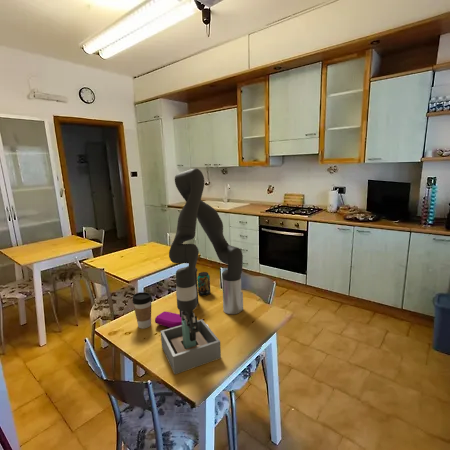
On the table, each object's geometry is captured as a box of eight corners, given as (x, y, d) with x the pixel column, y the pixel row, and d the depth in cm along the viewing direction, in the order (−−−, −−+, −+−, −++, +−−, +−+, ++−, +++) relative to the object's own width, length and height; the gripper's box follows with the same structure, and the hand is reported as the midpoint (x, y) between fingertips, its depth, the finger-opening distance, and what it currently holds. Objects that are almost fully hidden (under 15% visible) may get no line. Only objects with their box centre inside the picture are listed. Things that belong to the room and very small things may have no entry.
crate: (202, 333, 121) (202, 319, 120) (220, 357, 106) (220, 341, 104) (161, 346, 114) (160, 330, 112) (174, 374, 98) (173, 356, 96)
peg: (193, 345, 112) (191, 318, 110) (196, 351, 108) (194, 323, 106) (183, 348, 110) (181, 320, 108) (186, 354, 107) (184, 325, 104)
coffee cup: (137, 320, 134) (134, 291, 131) (155, 319, 134) (152, 290, 131) (133, 330, 126) (129, 299, 123) (152, 329, 126) (149, 298, 123)
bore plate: (198, 337, 117) (198, 330, 117) (210, 353, 107) (209, 346, 106) (170, 346, 112) (170, 339, 112) (180, 364, 102) (179, 356, 101)
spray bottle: (164, 316, 137) (211, 327, 130) (152, 324, 126) (202, 337, 119) (165, 310, 137) (212, 321, 129) (152, 317, 126) (203, 330, 119)
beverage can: (203, 297, 156) (202, 277, 154) (195, 293, 161) (194, 273, 159) (212, 293, 161) (212, 273, 158) (205, 289, 166) (204, 270, 163)
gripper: (203, 300, 100) (205, 341, 104) (189, 286, 113) (192, 323, 116) (183, 305, 97) (185, 347, 100) (171, 290, 110) (174, 328, 113)
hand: (189, 334), depth 108 cm, fingers open, 8 cm apart
